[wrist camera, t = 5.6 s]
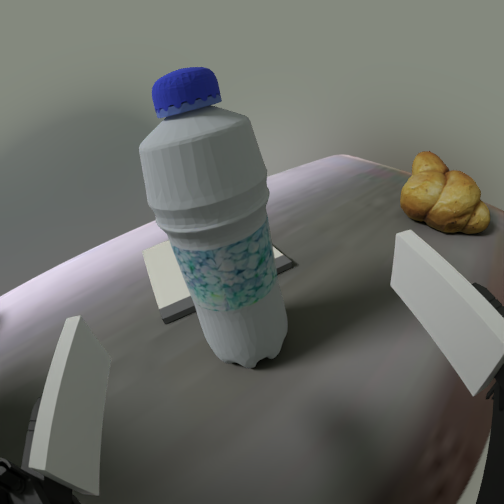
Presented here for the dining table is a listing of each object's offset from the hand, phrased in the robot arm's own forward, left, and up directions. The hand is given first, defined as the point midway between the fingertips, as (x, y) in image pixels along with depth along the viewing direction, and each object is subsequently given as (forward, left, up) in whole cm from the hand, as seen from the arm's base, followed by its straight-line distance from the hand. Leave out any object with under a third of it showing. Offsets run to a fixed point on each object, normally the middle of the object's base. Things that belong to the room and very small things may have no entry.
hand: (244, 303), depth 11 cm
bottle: (+2, +7, -11) cm, 13 cm away
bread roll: (+30, +8, -11) cm, 33 cm away
